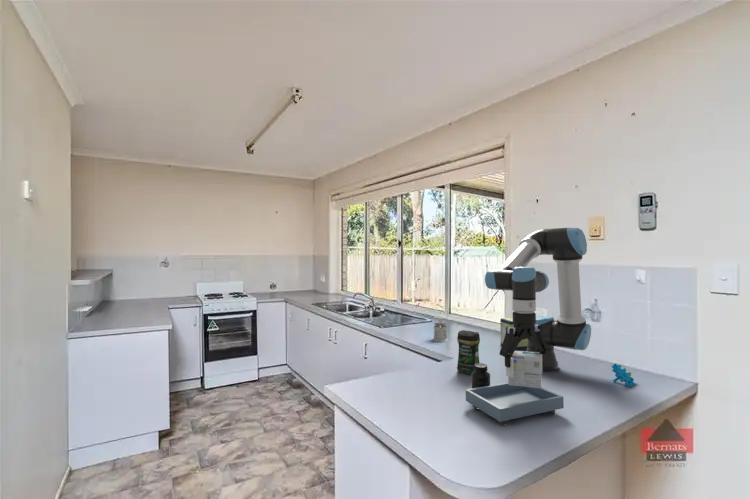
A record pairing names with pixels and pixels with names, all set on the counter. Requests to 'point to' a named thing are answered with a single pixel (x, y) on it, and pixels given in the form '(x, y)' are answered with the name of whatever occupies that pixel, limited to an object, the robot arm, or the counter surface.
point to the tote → (513, 401)
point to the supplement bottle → (480, 376)
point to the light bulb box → (526, 369)
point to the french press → (440, 329)
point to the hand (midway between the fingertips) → (524, 374)
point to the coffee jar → (468, 351)
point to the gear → (622, 375)
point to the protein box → (509, 323)
